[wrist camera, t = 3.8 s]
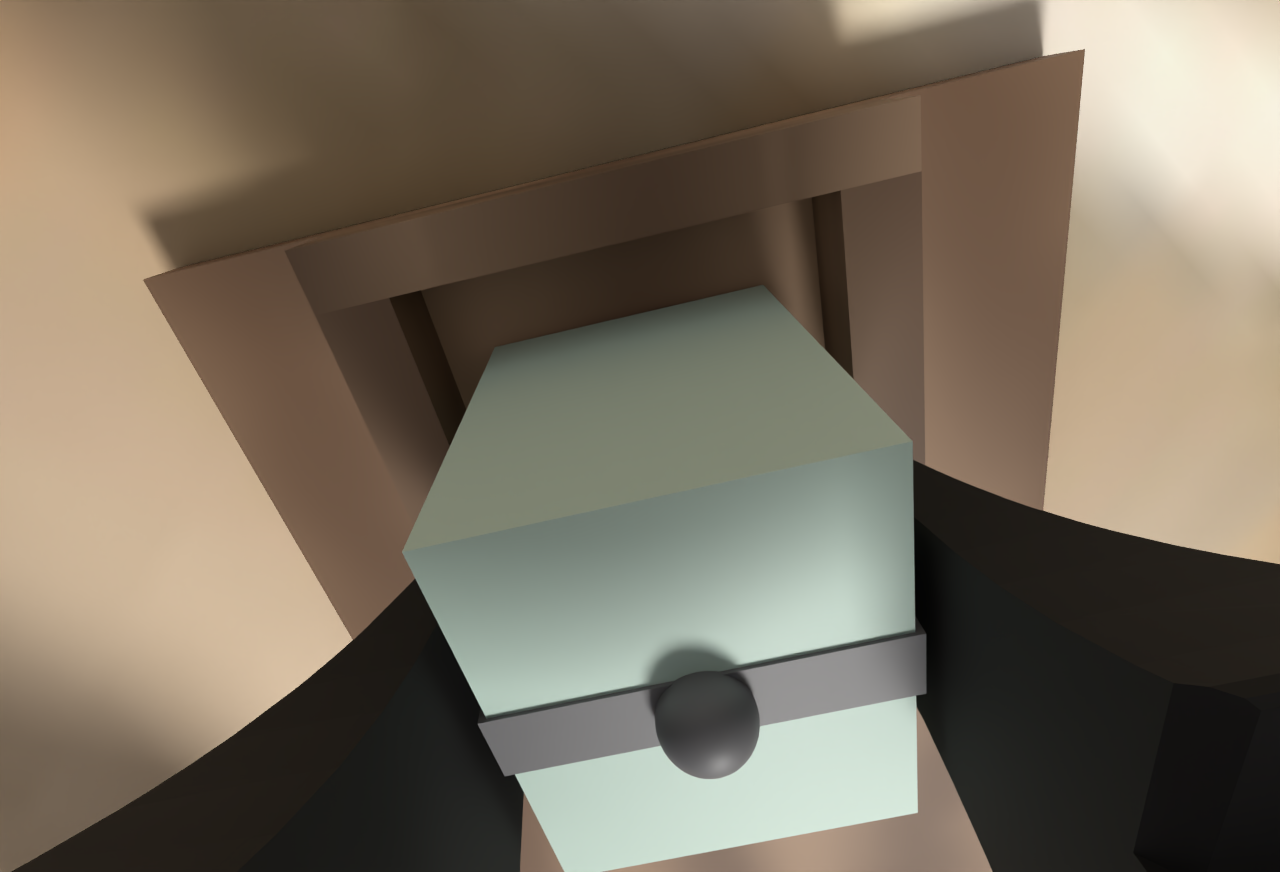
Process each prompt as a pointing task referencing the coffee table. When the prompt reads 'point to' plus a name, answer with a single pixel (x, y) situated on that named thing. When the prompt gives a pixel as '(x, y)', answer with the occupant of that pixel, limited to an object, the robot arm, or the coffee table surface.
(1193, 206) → the coffee table surface
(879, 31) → the coffee table surface
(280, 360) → the shelf
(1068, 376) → the coffee table surface
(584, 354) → the sage block
